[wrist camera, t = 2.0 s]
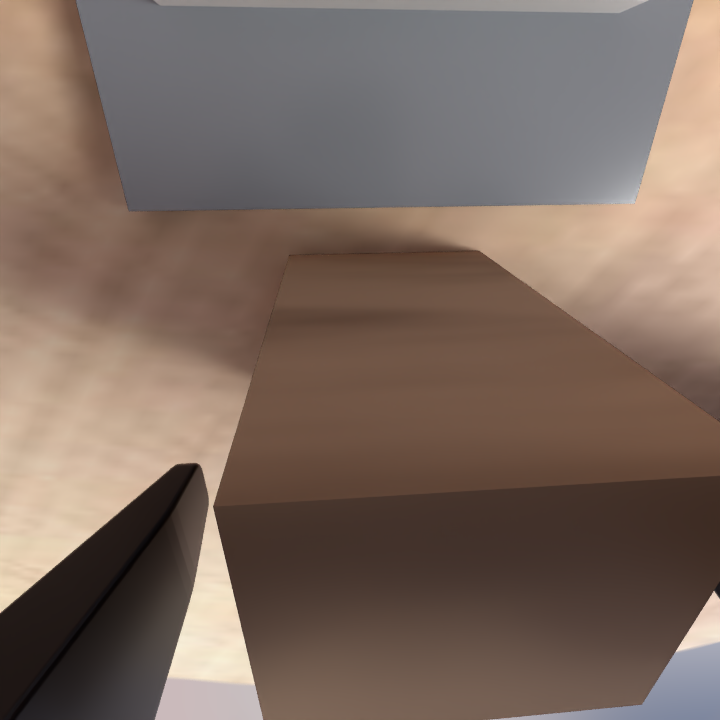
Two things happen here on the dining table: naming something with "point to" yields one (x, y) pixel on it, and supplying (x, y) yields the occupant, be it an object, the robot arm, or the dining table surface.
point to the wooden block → (458, 500)
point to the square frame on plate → (381, 100)
